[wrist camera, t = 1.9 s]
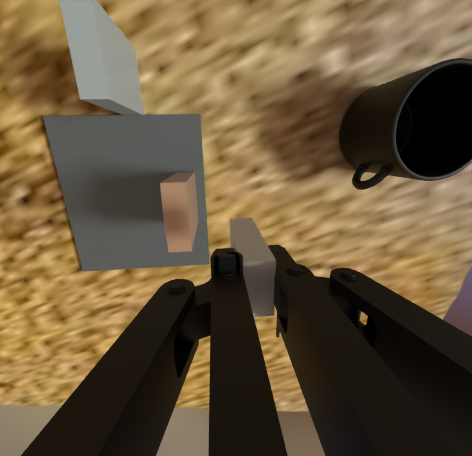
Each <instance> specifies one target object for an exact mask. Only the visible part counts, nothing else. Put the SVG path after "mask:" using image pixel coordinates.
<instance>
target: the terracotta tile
mask: <svg viewBox="0 0 472 456" xmlns="http://www.w3.org/2000/svg"><path fill="white" fill-rule="evenodd" d="M160 187H161V189H160V191H161V199H162V207H163V215H164V223H165V231H166V240H167V244H168V252H187V251H192V248H193V243H194V239H195V234H196V230H197V225H198V209H197V196H196V182H195V172H177V173H175V174H173V175H172V176H170V177H169V178H167V179H165V180H164V181H162V182H161V183H160Z"/></svg>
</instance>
